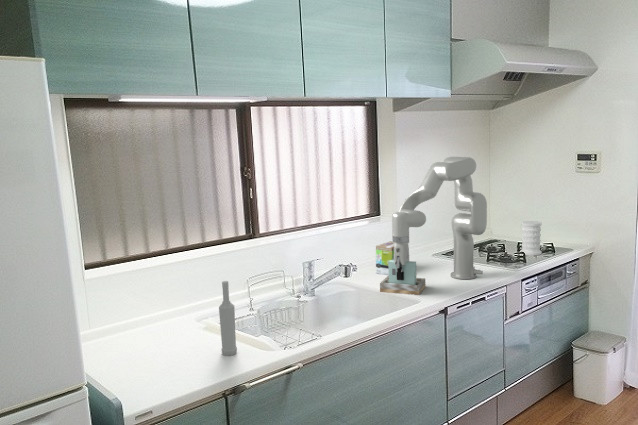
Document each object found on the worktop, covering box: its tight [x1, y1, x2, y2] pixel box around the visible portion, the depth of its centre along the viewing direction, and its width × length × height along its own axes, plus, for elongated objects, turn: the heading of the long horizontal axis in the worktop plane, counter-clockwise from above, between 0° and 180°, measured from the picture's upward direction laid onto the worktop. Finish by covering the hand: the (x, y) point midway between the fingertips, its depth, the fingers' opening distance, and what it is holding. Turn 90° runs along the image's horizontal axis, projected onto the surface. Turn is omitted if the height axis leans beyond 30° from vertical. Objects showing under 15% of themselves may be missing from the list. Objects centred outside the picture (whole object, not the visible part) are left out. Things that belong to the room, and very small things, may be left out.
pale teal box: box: [388, 260, 417, 285], centre depth 252 cm, size 12×4×12 cm, turn 67°
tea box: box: [375, 240, 394, 276], centre depth 288 cm, size 15×10×15 cm
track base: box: [379, 275, 427, 296], centre depth 256 cm, size 18×14×4 cm
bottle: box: [218, 280, 238, 357], centre depth 186 cm, size 5×5×25 cm
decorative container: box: [519, 220, 543, 256], centre depth 318 cm, size 12×12×18 cm
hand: (401, 278), depth 252 cm, fingers closed on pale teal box, 3 cm apart
